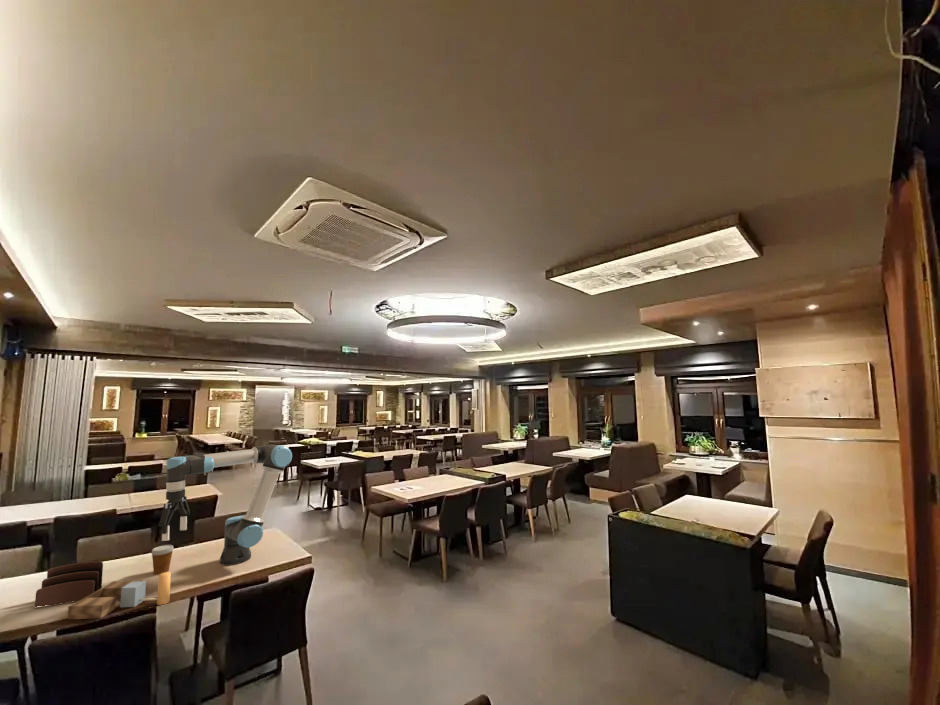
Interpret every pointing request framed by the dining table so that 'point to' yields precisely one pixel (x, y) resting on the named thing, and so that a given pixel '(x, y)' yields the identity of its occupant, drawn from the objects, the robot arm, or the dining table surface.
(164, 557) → the disposable coffee cup
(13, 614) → the dining table surface
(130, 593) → the tethered block
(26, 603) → the dining table surface
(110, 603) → the cubby lane
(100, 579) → the letter holder
